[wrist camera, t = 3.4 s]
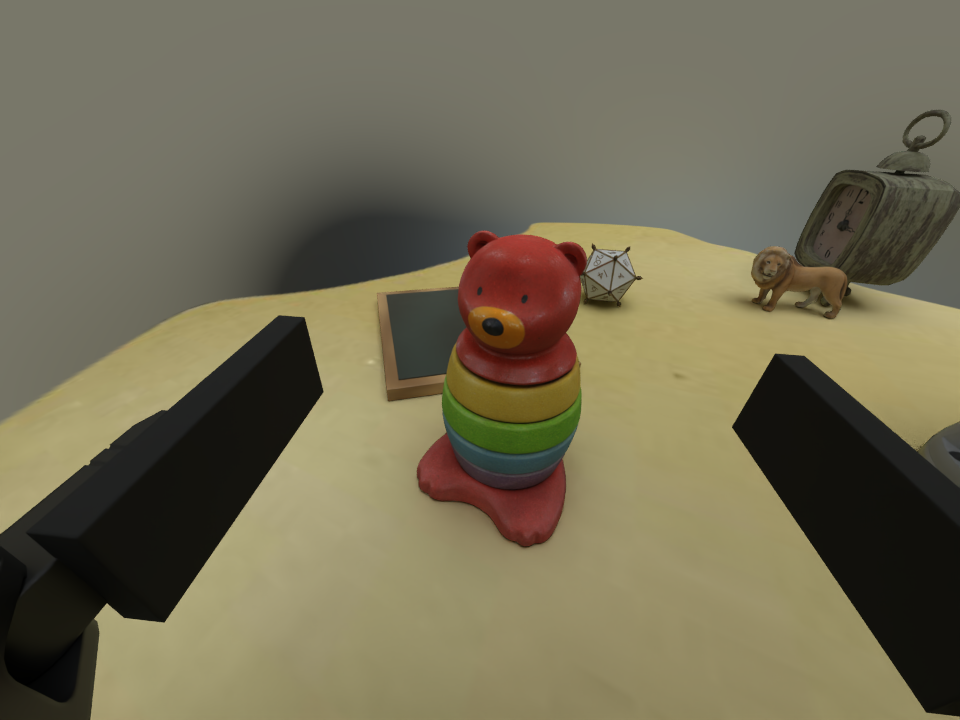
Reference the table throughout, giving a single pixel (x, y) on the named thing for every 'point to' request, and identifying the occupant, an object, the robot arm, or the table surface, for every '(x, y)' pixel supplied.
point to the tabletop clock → (880, 217)
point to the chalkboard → (418, 339)
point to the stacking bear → (511, 385)
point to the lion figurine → (796, 280)
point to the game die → (607, 275)
